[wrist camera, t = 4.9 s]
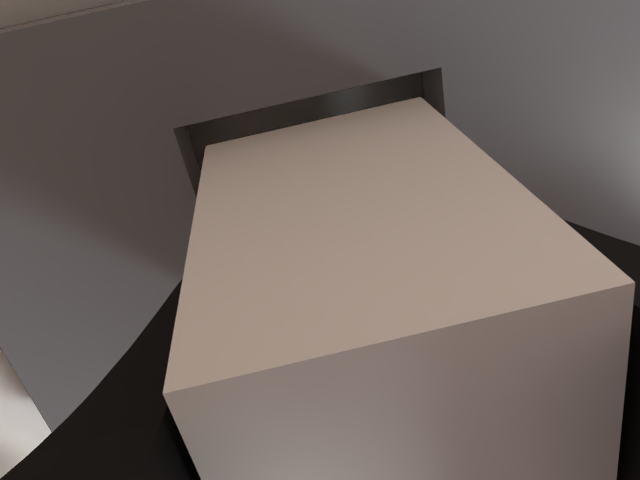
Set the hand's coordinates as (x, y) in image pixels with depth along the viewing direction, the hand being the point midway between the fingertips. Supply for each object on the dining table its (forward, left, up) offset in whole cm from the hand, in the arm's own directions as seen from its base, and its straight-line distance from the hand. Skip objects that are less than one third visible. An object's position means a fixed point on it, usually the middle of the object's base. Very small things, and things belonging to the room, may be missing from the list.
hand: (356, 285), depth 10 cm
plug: (0, 0, -3) cm, 3 cm away
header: (0, 0, -4) cm, 4 cm away
